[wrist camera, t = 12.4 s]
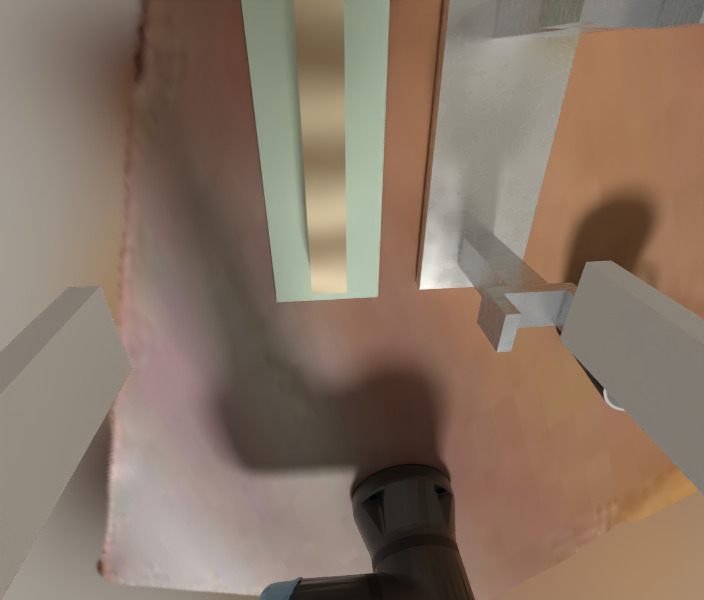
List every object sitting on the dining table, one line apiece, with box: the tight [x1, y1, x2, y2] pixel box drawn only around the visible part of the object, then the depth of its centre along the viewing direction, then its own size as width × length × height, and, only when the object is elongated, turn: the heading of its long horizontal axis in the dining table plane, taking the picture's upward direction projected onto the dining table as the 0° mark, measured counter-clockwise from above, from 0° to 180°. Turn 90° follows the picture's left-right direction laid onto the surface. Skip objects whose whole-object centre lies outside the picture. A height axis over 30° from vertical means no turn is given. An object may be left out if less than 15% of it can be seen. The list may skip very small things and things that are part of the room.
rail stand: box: [416, 0, 704, 352], centre depth 27 cm, size 26×10×14 cm, turn 0°
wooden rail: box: [293, 0, 347, 295], centre depth 29 cm, size 22×3×4 cm, turn 0°
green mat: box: [241, 0, 390, 302], centre depth 31 cm, size 28×10×1 cm, turn 0°
